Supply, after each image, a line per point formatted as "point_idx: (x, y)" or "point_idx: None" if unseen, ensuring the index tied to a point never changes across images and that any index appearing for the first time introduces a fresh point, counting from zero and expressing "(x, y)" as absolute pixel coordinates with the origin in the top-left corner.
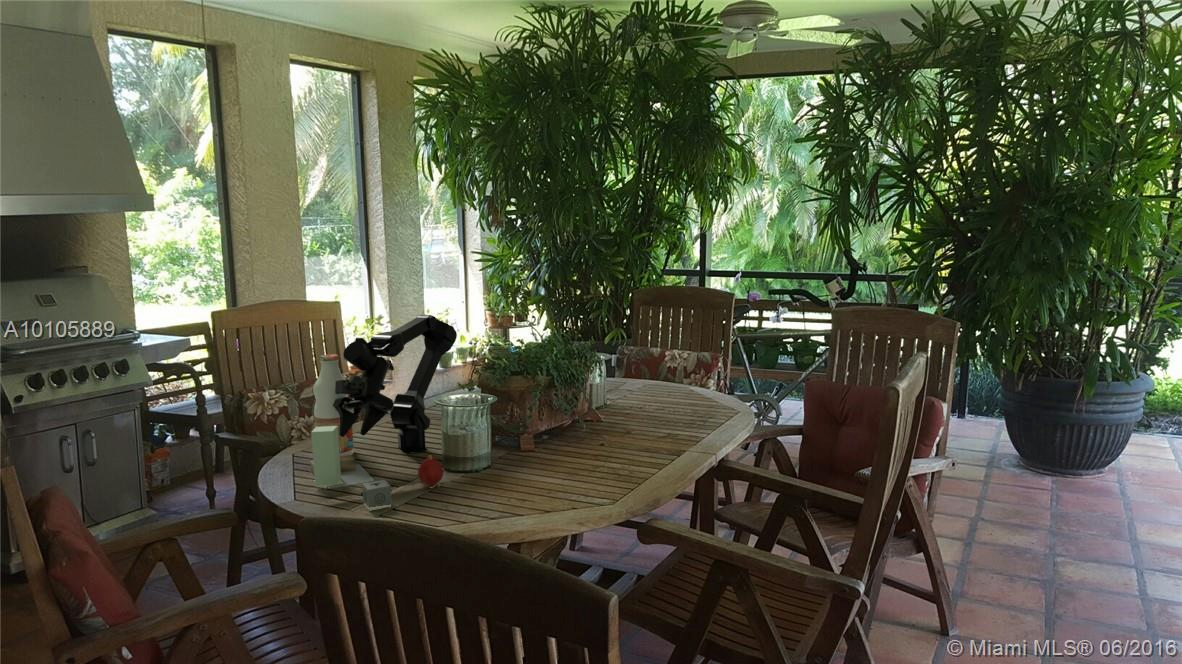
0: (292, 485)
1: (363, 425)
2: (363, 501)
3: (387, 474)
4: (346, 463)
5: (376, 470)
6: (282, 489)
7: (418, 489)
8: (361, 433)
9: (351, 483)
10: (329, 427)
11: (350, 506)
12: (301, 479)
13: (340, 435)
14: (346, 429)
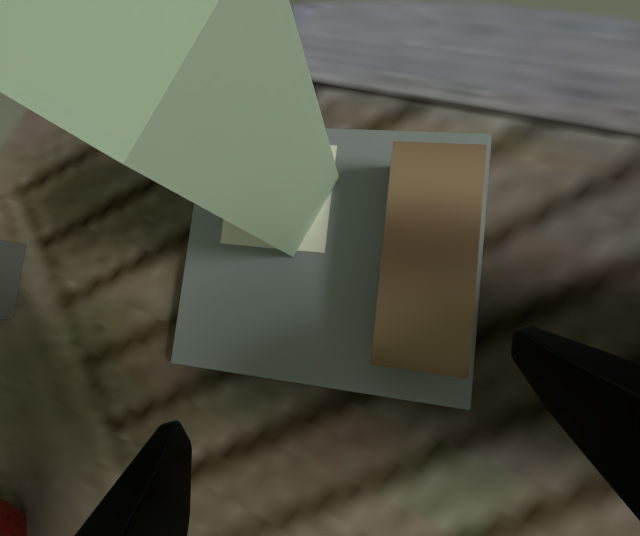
0: (401, 89)
1: (102, 503)
2: (8, 241)
3: (287, 467)
4: (375, 315)
5: (379, 456)
6: (373, 48)
7: (37, 469)
8: (160, 429)
9: (198, 269)
10: (108, 55)
11: (41, 205)
12: None
13: (515, 330)
14: (578, 421)
